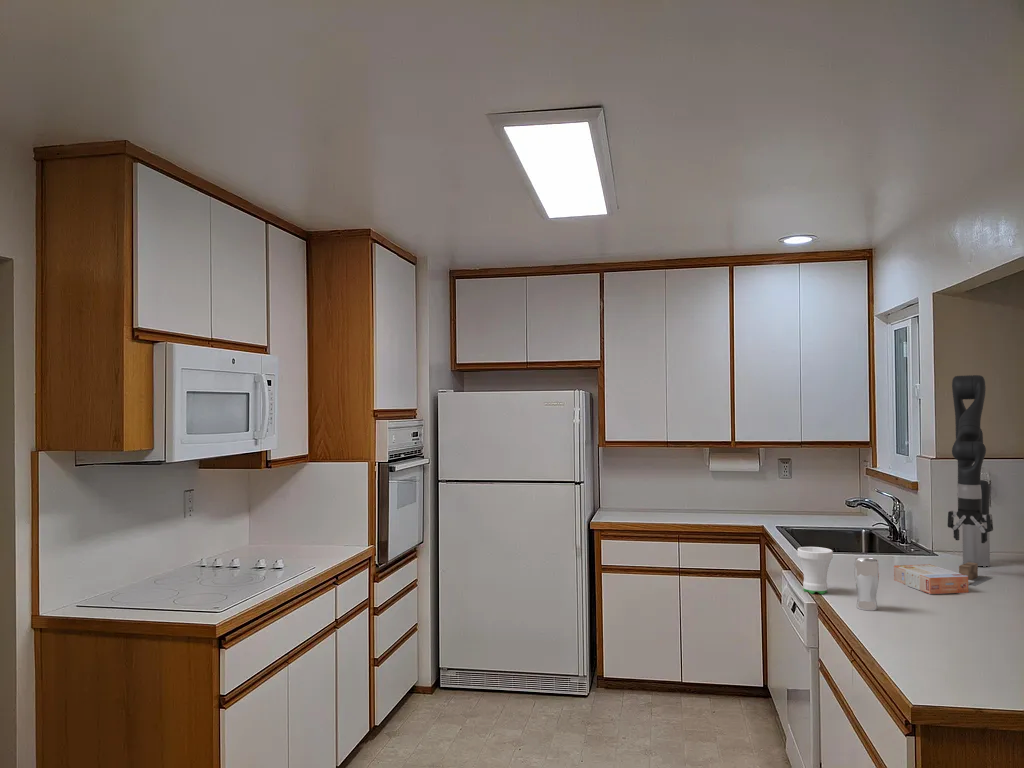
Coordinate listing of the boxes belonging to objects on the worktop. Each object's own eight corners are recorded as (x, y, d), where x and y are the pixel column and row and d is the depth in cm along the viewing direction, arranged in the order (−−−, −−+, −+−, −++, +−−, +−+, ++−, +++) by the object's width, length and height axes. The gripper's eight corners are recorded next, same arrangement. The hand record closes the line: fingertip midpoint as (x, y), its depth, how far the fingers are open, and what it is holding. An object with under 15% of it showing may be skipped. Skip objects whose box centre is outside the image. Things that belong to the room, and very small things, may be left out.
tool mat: (959, 574, 299) (959, 573, 299) (992, 579, 291) (992, 577, 291) (940, 582, 286) (940, 580, 286) (975, 587, 278) (975, 585, 278)
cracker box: (893, 582, 288) (929, 594, 267) (893, 564, 288) (929, 576, 267) (930, 580, 289) (969, 593, 268) (930, 563, 289) (969, 575, 269)
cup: (836, 596, 264) (835, 553, 265) (800, 595, 267) (800, 551, 267) (829, 589, 275) (829, 547, 276) (795, 587, 278) (795, 546, 278)
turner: (962, 575, 296) (962, 561, 296) (983, 578, 291) (983, 564, 291) (946, 582, 284) (945, 567, 284) (967, 585, 279) (967, 570, 279)
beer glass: (858, 604, 254) (858, 556, 255) (882, 608, 250) (881, 559, 250) (851, 608, 249) (851, 559, 249) (875, 612, 245) (875, 562, 245)
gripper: (994, 497, 289) (995, 542, 289) (951, 493, 300) (952, 537, 299) (988, 499, 284) (989, 545, 284) (944, 495, 294) (945, 540, 294)
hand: (970, 541), depth 292 cm, fingers open, 8 cm apart
